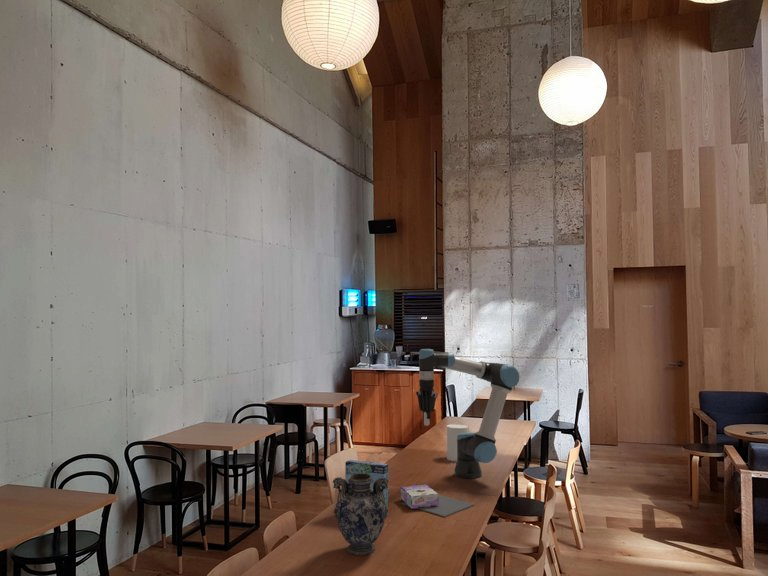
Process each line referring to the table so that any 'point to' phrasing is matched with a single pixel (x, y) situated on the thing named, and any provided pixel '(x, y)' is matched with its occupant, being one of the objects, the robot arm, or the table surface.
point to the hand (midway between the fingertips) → (426, 425)
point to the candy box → (419, 496)
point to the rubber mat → (446, 506)
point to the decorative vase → (360, 511)
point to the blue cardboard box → (367, 468)
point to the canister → (454, 439)
